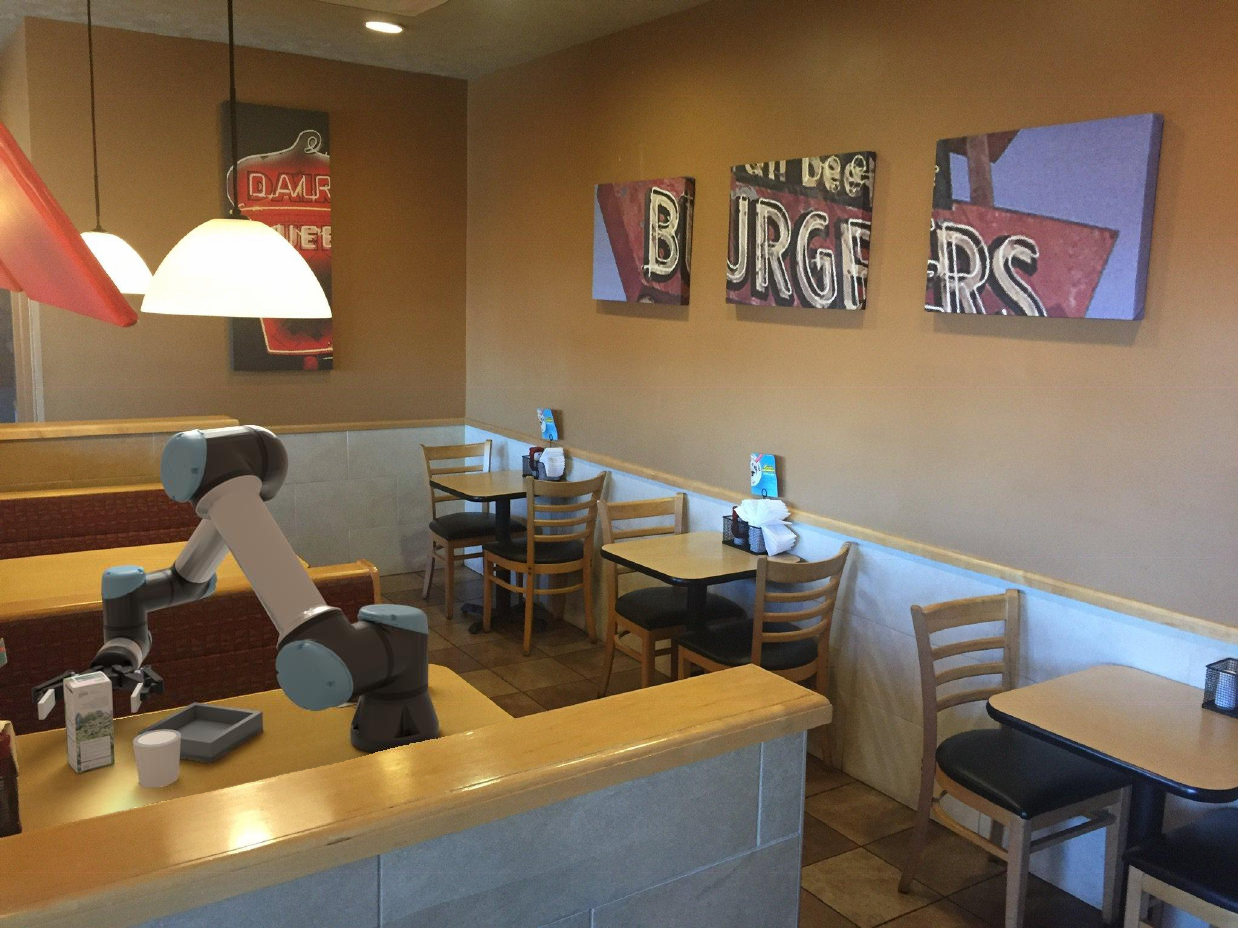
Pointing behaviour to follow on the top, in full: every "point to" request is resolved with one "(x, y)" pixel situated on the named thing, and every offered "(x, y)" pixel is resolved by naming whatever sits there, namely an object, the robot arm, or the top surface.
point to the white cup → (157, 757)
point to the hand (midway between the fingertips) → (87, 707)
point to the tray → (210, 729)
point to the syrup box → (89, 721)
